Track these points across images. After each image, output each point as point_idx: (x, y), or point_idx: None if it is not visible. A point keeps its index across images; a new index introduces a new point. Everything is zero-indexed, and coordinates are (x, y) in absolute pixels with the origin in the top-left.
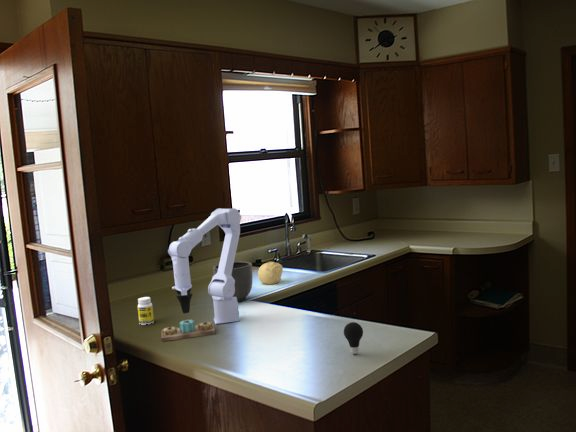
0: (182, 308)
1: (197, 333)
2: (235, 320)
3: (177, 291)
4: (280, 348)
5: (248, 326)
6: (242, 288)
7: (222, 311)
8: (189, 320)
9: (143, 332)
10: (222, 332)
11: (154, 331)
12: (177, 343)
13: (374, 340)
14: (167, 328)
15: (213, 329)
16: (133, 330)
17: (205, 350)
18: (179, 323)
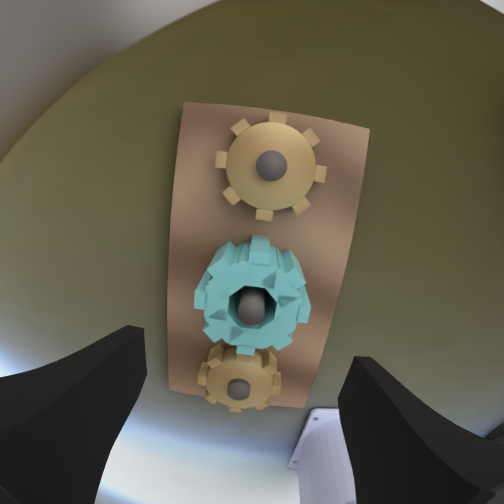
0: (92, 350)
1: (168, 317)
2: (290, 461)
3: (463, 499)
4: None
5: (206, 465)
6: None
7: (312, 472)
8: (278, 331)
9: (431, 57)
10: (177, 402)
11: (421, 106)
12: (109, 191)
13: None
14: (268, 150)
15: (188, 390)
16: (476, 40)
17: (9, 286)
18: (249, 252)
